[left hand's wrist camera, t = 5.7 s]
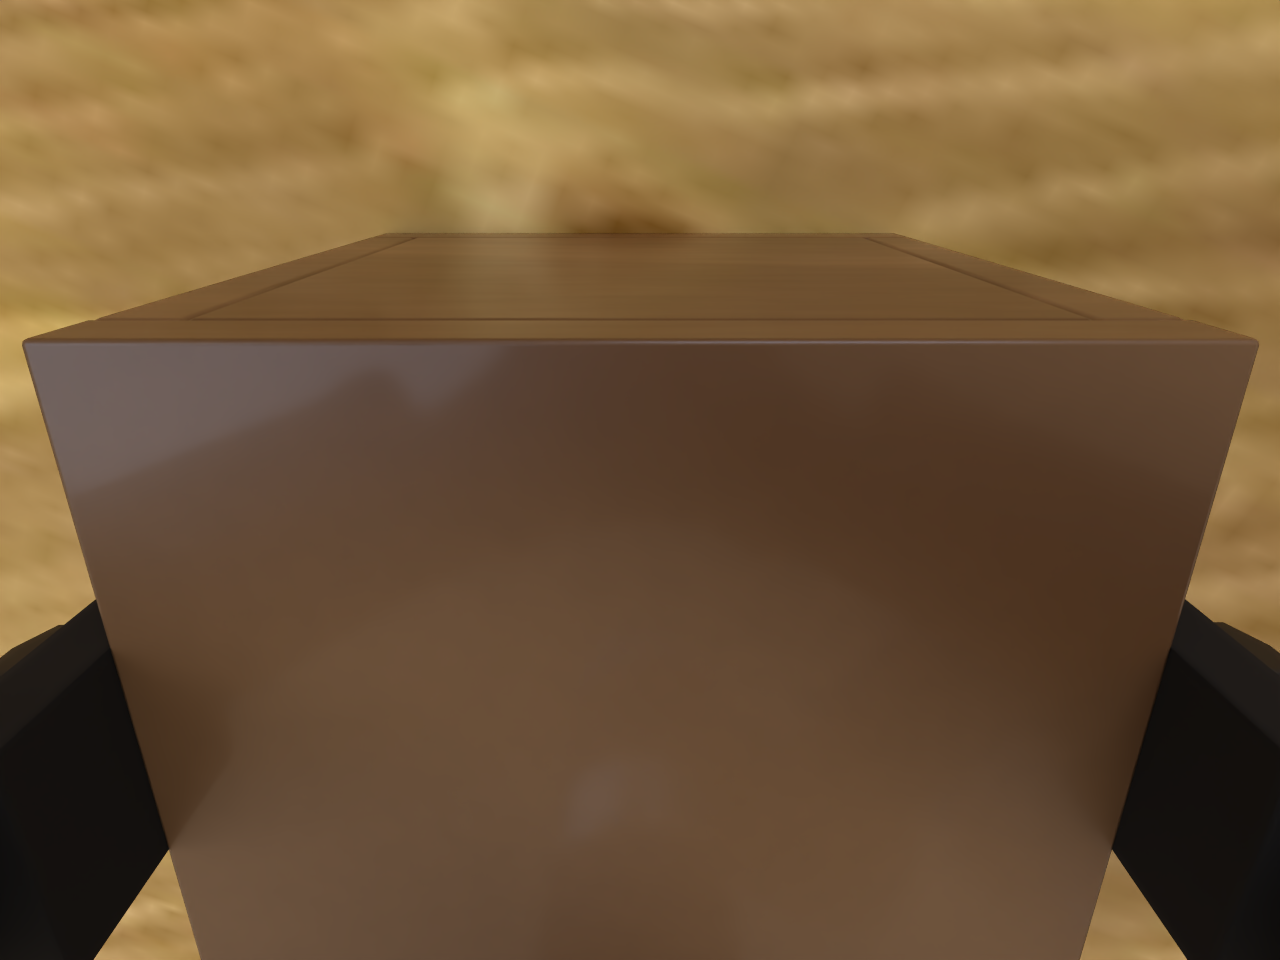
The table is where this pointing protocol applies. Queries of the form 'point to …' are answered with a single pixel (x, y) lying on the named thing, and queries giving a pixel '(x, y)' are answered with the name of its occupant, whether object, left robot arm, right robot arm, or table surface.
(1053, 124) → the table surface
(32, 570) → the table surface
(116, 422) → the cabinet
